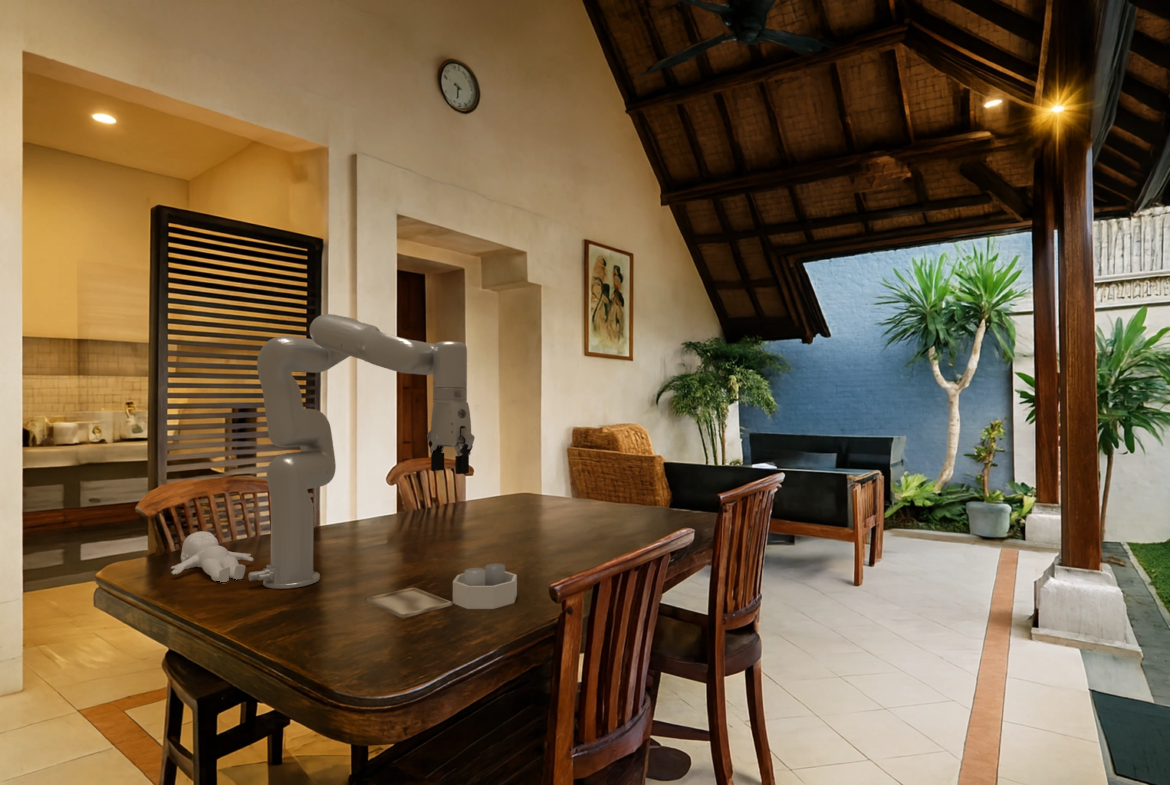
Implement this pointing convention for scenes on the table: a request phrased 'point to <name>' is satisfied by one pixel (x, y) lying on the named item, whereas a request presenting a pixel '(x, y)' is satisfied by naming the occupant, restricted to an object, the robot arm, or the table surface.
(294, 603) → the table surface
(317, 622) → the table surface
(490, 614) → the table surface
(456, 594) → the bowl
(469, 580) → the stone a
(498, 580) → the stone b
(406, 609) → the tray
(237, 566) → the doll
